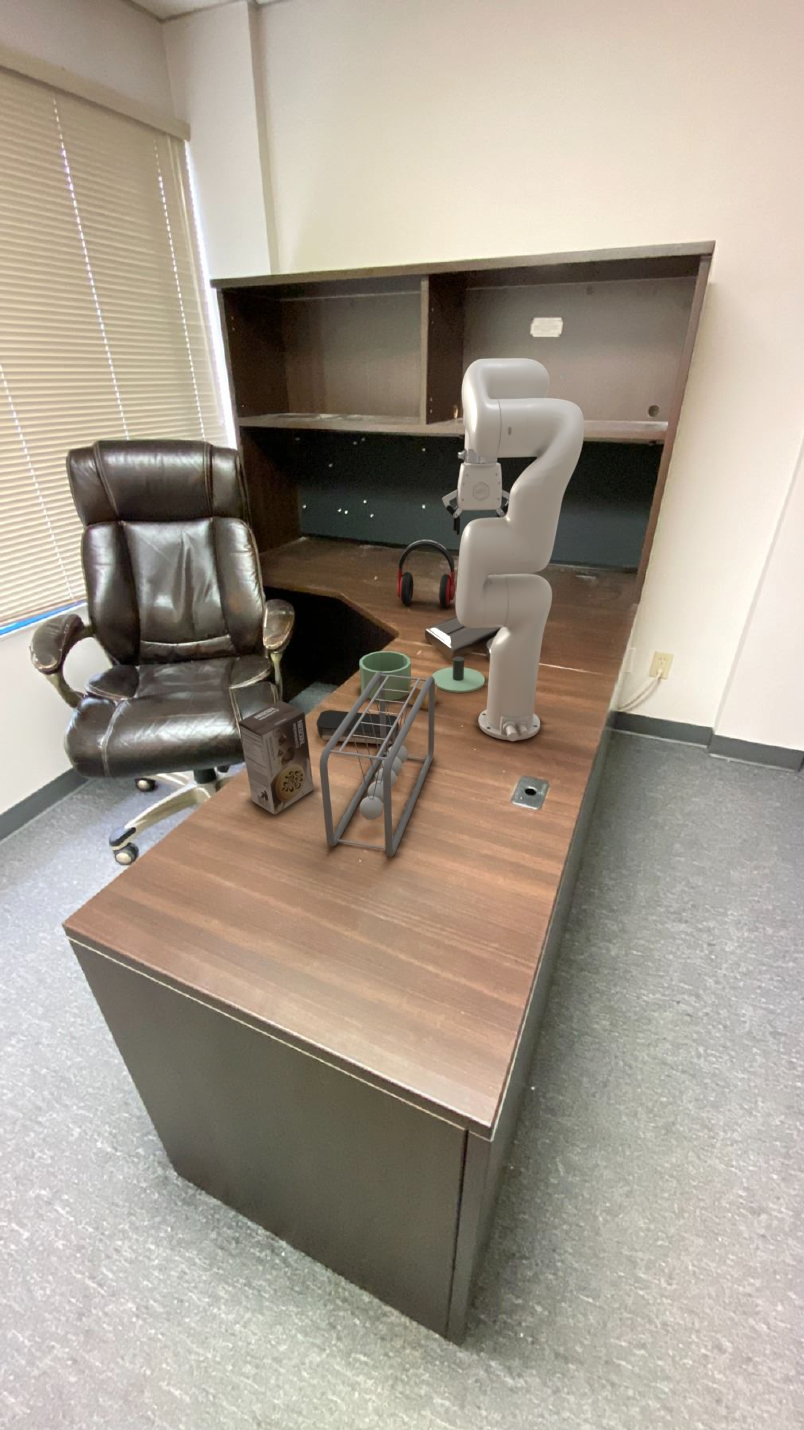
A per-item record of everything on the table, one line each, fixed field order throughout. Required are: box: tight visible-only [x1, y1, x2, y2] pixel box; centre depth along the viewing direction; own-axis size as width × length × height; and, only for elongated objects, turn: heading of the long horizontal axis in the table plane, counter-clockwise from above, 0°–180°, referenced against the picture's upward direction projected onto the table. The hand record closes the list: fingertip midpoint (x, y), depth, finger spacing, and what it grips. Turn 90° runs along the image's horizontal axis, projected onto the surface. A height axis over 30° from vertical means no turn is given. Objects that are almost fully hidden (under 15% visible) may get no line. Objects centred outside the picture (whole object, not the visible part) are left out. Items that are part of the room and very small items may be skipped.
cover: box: [431, 656, 486, 694], centre depth 141 cm, size 12×12×6 cm
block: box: [408, 680, 438, 710], centre depth 132 cm, size 4×4×5 cm
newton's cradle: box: [318, 671, 436, 858], centre depth 100 cm, size 30×10×18 cm, turn 165°
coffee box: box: [237, 700, 314, 815], centre depth 102 cm, size 9×6×16 cm
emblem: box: [424, 616, 502, 662], centre depth 162 cm, size 28×5×28 cm
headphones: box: [396, 538, 456, 608], centre depth 184 cm, size 18×10×20 cm, turn 78°
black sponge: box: [316, 709, 400, 745], centre depth 122 cm, size 16×8×4 cm, turn 81°
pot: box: [359, 650, 412, 702], centre depth 138 cm, size 11×11×8 cm
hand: (477, 533), depth 147 cm, fingers open, 9 cm apart
